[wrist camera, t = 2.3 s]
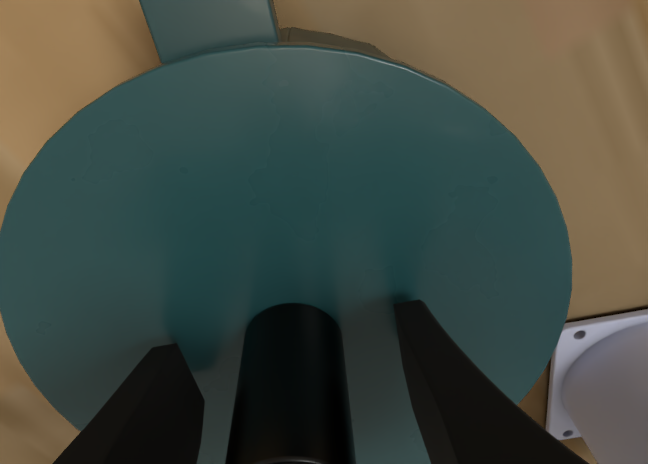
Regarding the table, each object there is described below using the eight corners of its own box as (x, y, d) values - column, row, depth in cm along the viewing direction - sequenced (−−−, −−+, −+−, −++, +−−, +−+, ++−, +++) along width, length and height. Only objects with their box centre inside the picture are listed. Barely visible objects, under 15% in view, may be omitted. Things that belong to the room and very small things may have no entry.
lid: (571, -35, 8) (865, -37, 4) (539, 430, 15) (636, 618, 11) (-110, 114, 9) (-481, 248, 5) (148, 492, 16) (89, 692, 12)
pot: (448, -121, 13) (568, -193, 7) (470, 351, 21) (530, 487, 16) (14, -20, 13) (-198, -11, 8) (210, 396, 22) (179, 541, 17)
